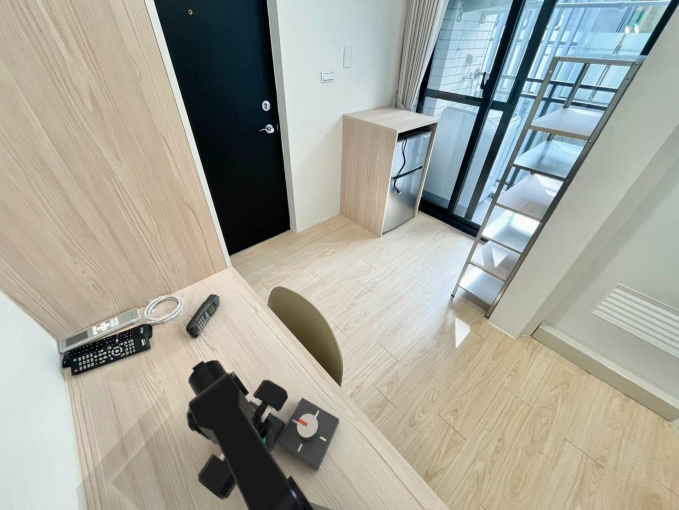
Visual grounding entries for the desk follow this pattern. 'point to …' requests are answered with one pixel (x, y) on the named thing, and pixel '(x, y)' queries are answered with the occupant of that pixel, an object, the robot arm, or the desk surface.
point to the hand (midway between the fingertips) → (257, 442)
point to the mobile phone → (202, 316)
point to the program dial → (308, 427)
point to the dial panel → (318, 447)
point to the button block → (274, 430)
